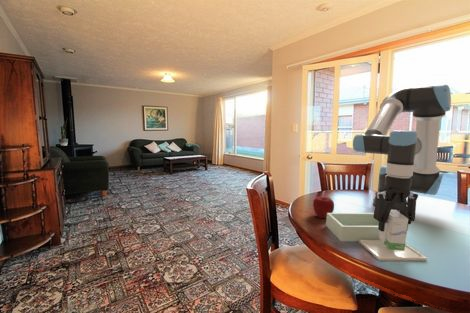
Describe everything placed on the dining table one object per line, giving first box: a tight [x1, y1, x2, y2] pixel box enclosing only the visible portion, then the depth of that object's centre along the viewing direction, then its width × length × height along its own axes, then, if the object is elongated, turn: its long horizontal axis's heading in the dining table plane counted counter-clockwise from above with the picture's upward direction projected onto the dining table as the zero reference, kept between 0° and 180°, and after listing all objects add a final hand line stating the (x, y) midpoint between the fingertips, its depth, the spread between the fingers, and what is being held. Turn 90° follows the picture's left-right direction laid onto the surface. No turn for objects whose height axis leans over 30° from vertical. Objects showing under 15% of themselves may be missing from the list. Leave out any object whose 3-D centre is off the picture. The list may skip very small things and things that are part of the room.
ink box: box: [379, 209, 409, 251], centre depth 81 cm, size 9×5×12 cm, turn 169°
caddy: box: [325, 212, 380, 242], centre depth 95 cm, size 25×14×6 cm, turn 91°
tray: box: [358, 240, 428, 262], centre depth 82 cm, size 16×12×1 cm
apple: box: [312, 196, 335, 219], centre depth 112 cm, size 10×10×10 cm
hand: (391, 239), depth 81 cm, fingers closed on ink box, 6 cm apart
